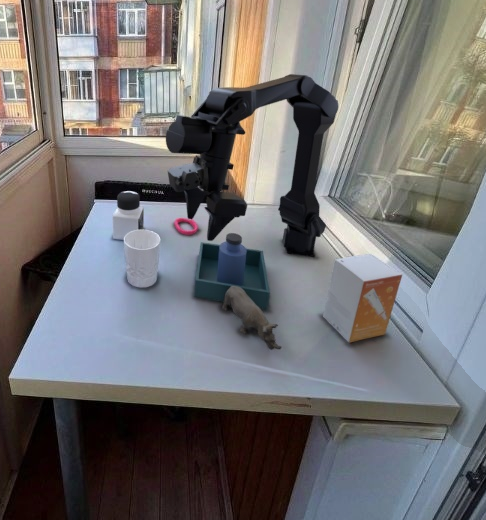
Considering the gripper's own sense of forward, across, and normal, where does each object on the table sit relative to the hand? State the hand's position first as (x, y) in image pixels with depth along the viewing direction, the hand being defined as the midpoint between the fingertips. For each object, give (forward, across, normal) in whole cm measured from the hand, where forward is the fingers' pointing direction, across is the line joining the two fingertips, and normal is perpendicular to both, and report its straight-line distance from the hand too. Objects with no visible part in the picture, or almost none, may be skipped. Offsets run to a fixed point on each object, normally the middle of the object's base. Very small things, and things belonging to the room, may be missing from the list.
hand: (199, 228), depth 67 cm
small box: (+11, +16, +26) cm, 33 cm away
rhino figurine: (+14, +12, +7) cm, 20 cm away
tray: (+13, -1, +11) cm, 16 cm away
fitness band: (+12, -24, +10) cm, 29 cm away
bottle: (+12, 0, +10) cm, 16 cm away
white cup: (+16, -6, -8) cm, 19 cm away
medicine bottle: (+15, -25, -6) cm, 30 cm away
